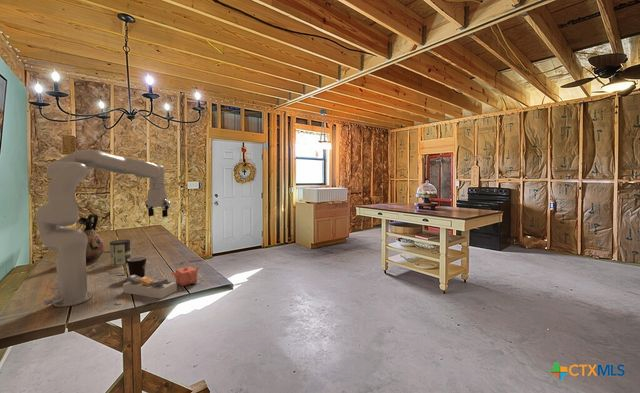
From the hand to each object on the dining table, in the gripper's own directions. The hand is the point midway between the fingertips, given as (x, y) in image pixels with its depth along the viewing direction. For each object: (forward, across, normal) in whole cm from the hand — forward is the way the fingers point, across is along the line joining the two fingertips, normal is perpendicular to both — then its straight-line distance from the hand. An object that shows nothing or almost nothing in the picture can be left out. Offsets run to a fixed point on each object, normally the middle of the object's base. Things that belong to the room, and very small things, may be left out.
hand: (158, 216), depth 162 cm
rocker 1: (+25, +15, -29) cm, 41 cm away
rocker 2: (+25, +22, -29) cm, 44 cm away
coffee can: (+31, -30, +1) cm, 44 cm away
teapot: (+31, +30, -14) cm, 46 cm away
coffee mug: (+31, -1, -12) cm, 34 cm away
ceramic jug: (+31, -53, 0) cm, 62 cm away
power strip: (+31, +19, -28) cm, 46 cm away
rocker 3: (+25, +29, -29) cm, 48 cm away
